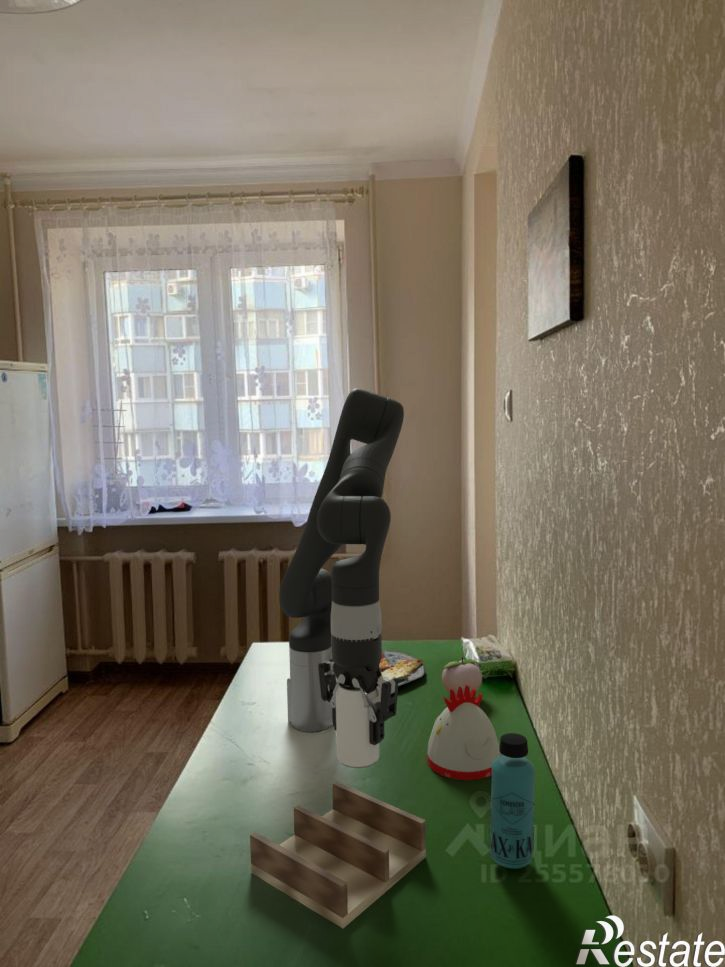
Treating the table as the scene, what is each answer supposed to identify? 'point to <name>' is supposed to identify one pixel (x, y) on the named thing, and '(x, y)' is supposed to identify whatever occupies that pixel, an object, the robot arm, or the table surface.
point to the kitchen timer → (463, 739)
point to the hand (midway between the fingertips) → (358, 735)
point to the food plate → (400, 667)
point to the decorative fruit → (462, 675)
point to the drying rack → (342, 854)
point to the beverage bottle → (512, 804)
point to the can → (354, 729)
